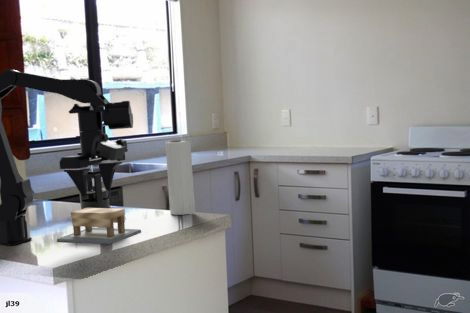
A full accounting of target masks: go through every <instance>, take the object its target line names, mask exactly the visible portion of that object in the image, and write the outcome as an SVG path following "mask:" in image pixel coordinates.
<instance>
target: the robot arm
mask: <svg viewBox="0 0 470 313" xmlns="http://www.w3.org/2000/svg"><path fill="white" fill-rule="evenodd" d="M16 87H17V88H18V87H20V88H24V89H30V90H36V91H41V92H47V93H52V94H58V95H61V96H64V97H66V98H68V99H71V100H72V101H73V100H74V101H76V102H79V103H81V104H91V105H84V106H83V105H81V106H80V104H79V103H74V104H73V106H72V107H71V109H69V111H68V113H69V114H70V115H71V114H77V122H78V132H79V133H78V134H79V135H76V136H75V141H79V142H80V152H77V155H67V156H62V157H61V158H60V159H59V161H58V162H59V169H60V170H63V172H64V173H66V174H67V175H68V177H69V178H70V179H71V181H72V182H73V184H74V185H75V187H76V188H77V190H78V191H79V194H80V193H81V195H82V198H84V197H88V194H87V173H88V172H90V170H91V167H89V166H90V165H89V163H94V162H99V161H102V163H98V165H97V166H98V168H99V171H100V173H101V176H102V177H101V181H102V183H103V186H104V188H105V189H106V190H108V191H111V189H112V184H113V179H114V176H115V172H116V169H117V168H118V167H119V166H120V165H121V164H123V161H125V160H126V153H128V144H127V140H126V139H124V138H118V139H116V141H115V140H113V141H112V140H109V136H108V134H107V133H104V128H103V125H104V126H106V127H108V129H109V130H123V129H133V128H134V114H133V112H132V108H131V101H130V100H122V101H119V102H116V101H115V102H110V101H109V100H108V99H107V98H106V97H105V96H104V95H103V94H102V88H101V86H100V84H98V82H96V81H94V80H91V79H85V78H84V79H79V78H78V79H77V78H76V79H69V78H68V79H59V78H54V77H49V76H43V75H38V74H34V73H27V72H21V71H19V70H15V69H11V68H8V69H6V70H4V71H3V72H2V73H0V245H1V246H15V245H18V244H22V243H25V242H29V241H31V240H32V239H33V238H32V237H29V235H28V234H29V233H28V223H27V220H26V213H27V210H28V208H29V207H30V206H31V205H32V203H33V201H34V194H35V191H34V190H33V188H32V185H31V180H30V178H26V179H24V178H23V177H22V176H21V174H20V173H19V170H18V167H17V164H16V163H17V162H16V161H15V160H16V159H14V158H15V157H14V155H13V154H14V153H13V152H12V149H11V146H10V142H9V140H8V136H7V133H6V130H5V127H4V124H3V121H2V116H3V115H2V113H3V106H2V99H3V98H5V97H6V96H8V94H10V92H11V91H13V90H14V89H15V88H16ZM92 105H93V106H94V107H104V108H103V109H102V108H101V109H94V107H93V106H92ZM96 156H97V157H96ZM88 165H89V166H88Z"/></svg>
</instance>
